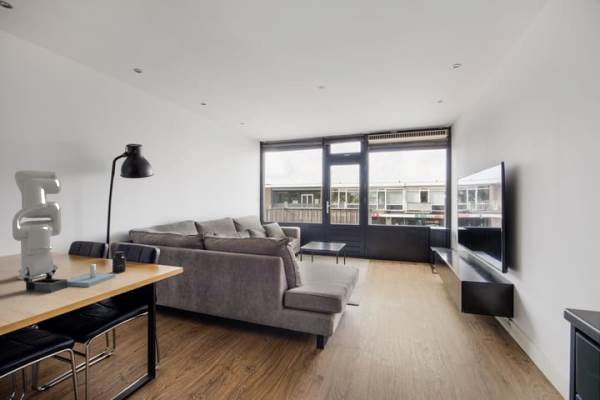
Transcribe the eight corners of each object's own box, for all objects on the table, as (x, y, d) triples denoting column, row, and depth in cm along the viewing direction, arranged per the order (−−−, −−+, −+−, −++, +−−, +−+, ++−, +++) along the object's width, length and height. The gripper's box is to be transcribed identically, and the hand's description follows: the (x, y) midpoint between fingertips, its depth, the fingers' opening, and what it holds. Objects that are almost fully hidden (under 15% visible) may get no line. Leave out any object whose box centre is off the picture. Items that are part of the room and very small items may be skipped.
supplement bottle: (118, 273, 156) (118, 253, 155) (109, 273, 157) (109, 253, 157) (128, 270, 162) (128, 251, 162) (119, 269, 164) (119, 250, 164)
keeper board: (61, 285, 135) (61, 267, 135) (90, 275, 151) (90, 260, 151) (88, 286, 133) (88, 269, 133) (115, 277, 149) (115, 261, 149)
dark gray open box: (26, 291, 127) (26, 282, 127) (43, 285, 134) (43, 278, 134) (51, 292, 125) (50, 284, 125) (67, 287, 132) (67, 279, 132)
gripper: (51, 247, 139) (52, 281, 139) (11, 255, 122) (11, 293, 122) (64, 248, 138) (64, 281, 138) (24, 255, 121) (25, 293, 121)
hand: (39, 286), depth 130 cm, fingers closed on dark gray open box, 7 cm apart
